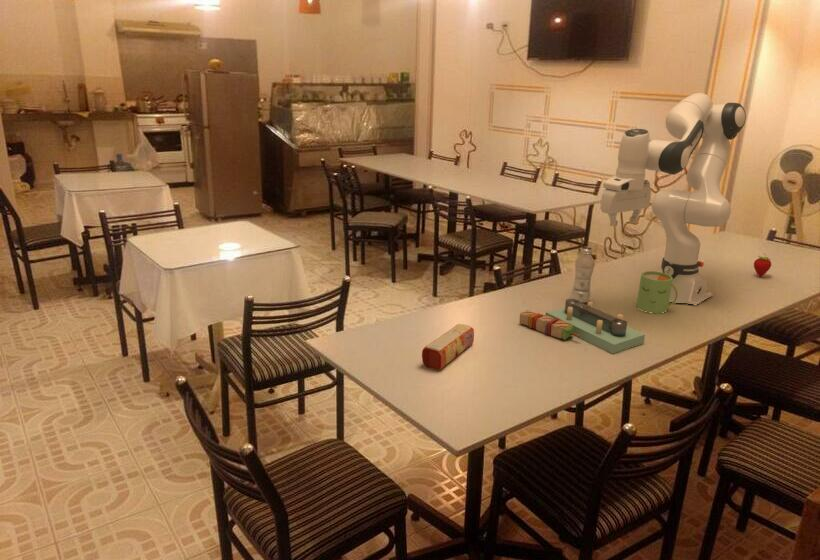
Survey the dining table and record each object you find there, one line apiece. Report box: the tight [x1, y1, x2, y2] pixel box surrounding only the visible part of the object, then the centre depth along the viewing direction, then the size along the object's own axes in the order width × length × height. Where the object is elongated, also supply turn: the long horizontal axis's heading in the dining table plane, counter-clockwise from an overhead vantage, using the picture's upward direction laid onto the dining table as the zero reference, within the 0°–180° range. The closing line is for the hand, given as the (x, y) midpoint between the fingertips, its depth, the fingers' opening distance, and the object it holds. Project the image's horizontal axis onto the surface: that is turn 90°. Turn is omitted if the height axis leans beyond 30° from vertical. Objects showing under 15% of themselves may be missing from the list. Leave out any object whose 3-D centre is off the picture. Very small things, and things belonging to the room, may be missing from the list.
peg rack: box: [545, 300, 646, 355], centre depth 191 cm, size 14×28×7 cm, turn 32°
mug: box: [635, 270, 678, 313], centre depth 210 cm, size 13×10×12 cm
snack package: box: [421, 323, 475, 371], centre depth 174 cm, size 21×7×7 cm, turn 148°
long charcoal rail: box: [564, 298, 628, 337], centre depth 191 cm, size 4×23×4 cm, turn 32°
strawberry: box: [753, 253, 772, 277], centre depth 245 cm, size 6×8×10 cm
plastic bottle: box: [570, 246, 596, 304], centre depth 213 cm, size 6×7×20 cm
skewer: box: [519, 310, 581, 341], centre depth 191 cm, size 21×6×5 cm, turn 45°
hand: (623, 224), depth 198 cm, fingers open, 8 cm apart
